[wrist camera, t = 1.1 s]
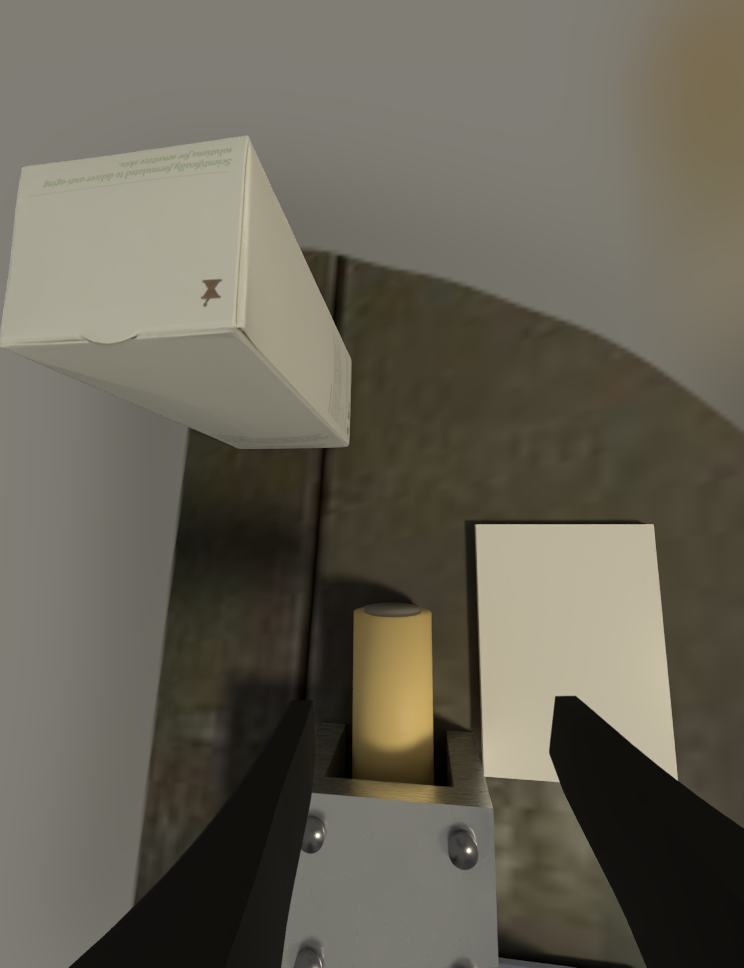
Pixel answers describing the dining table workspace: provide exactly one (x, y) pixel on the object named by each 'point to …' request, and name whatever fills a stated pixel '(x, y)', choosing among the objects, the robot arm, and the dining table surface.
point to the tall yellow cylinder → (392, 694)
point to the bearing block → (395, 868)
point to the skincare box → (178, 294)
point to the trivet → (569, 639)
